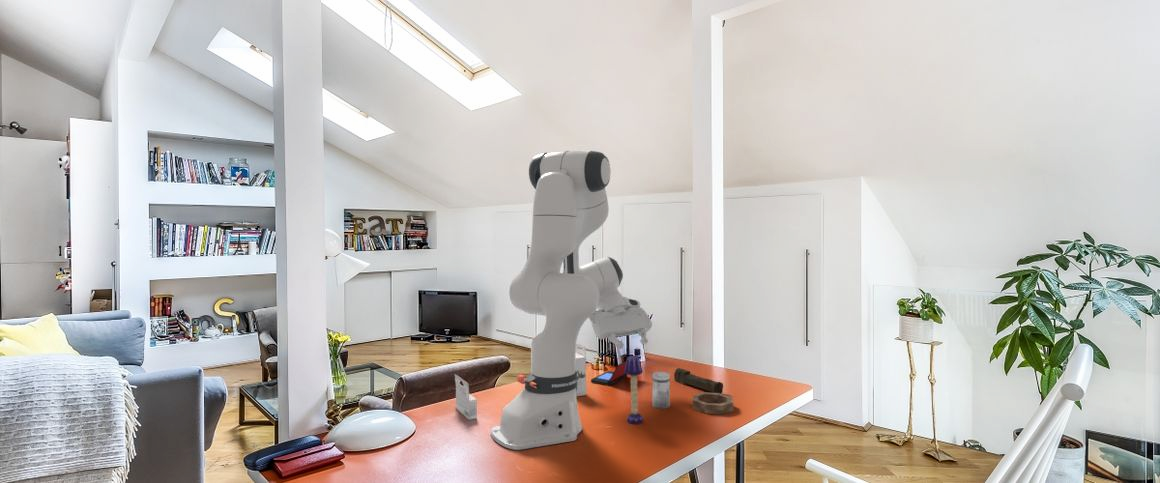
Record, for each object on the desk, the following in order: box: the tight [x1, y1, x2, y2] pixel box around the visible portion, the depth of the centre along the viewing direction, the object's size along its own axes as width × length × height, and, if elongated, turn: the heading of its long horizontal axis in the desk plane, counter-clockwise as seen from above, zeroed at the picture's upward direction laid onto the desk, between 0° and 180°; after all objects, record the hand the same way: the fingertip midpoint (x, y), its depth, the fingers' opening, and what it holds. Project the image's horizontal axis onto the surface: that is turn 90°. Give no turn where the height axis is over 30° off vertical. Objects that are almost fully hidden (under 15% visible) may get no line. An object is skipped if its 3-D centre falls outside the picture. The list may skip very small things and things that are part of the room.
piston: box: [651, 371, 671, 410], centre depth 147 cm, size 5×5×9 cm
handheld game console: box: [590, 360, 628, 387], centre depth 172 cm, size 12×11×7 cm
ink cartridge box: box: [454, 374, 478, 421], centre depth 141 cm, size 2×11×10 cm, turn 32°
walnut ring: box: [692, 391, 734, 415], centre depth 145 cm, size 11×11×2 cm
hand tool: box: [673, 367, 724, 394], centre depth 164 cm, size 19×4×5 cm, turn 32°
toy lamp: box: [625, 355, 644, 425], centre depth 135 cm, size 5×5×17 cm
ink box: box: [575, 342, 587, 398], centre depth 159 cm, size 8×5×15 cm, turn 26°
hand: (633, 345), depth 157 cm, fingers open, 8 cm apart
